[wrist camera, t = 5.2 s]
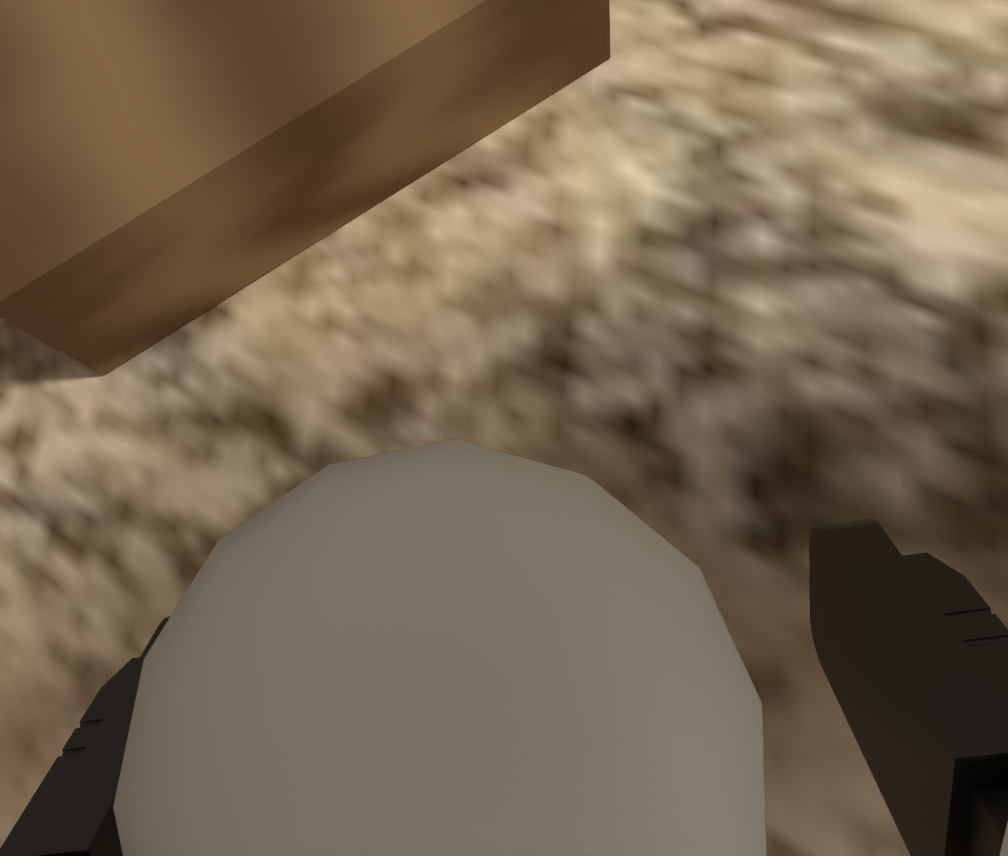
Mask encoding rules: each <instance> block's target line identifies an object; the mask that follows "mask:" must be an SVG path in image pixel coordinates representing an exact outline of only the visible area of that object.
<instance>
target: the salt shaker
mask: <svg viewBox="0 0 1008 856" xmlns="http://www.w3.org/2000/svg"><path fill="white" fill-rule="evenodd" d="M113 809H114V814H115V819H116V824H117V828H118V833H119V838H120V843H121V848H122V853H123V856H766V824H765V790H764V755H763V721H762V702H761V700H760V698H759V696H758V694H757V691H756V689H755V687H754V685H753V683H752V680H751V678H750V676H749V674H748V672H747V670H746V667H745V665H744V663H743V661H742V659H741V657H740V654H739V652H738V650H737V648H736V646H735V643H734V641H733V639H732V637H731V635H730V633H729V630H728V628H727V626H726V624H725V622H724V620H723V617H722V615H721V613H720V611H719V609H718V606H717V604H716V602H715V600H714V598H713V596H712V593H711V591H710V589H709V587H708V585H707V583H706V580H705V578H704V576H703V574H702V572H701V569H700V568H699V567H698V566H697V565H696V564H694V563H693V562H692V561H691V560H690V559H688V558H687V557H686V556H685V555H683V554H682V553H681V552H680V551H679V550H677V549H676V548H675V547H674V546H673V545H671V544H670V543H669V542H668V541H666V540H665V539H664V538H663V537H662V536H660V535H659V534H658V533H657V532H656V531H654V530H653V529H652V528H651V527H649V526H648V525H647V524H646V523H645V522H643V521H642V520H641V519H640V518H639V517H637V516H636V515H635V514H634V513H632V512H631V511H630V510H629V509H628V508H626V507H625V506H624V505H623V504H622V503H620V502H619V501H618V500H617V499H615V498H614V497H613V496H612V495H611V494H609V493H608V492H607V491H606V490H605V489H603V488H602V487H601V486H600V485H598V484H597V483H596V482H595V481H593V480H592V479H590V478H588V477H587V476H585V475H584V474H580V473H576V472H573V471H569V470H566V469H562V468H558V467H555V466H551V465H548V464H544V463H540V462H537V461H533V460H529V459H526V458H522V457H519V456H515V455H511V454H508V453H504V452H501V451H497V450H493V449H490V448H486V447H482V446H479V445H475V444H472V443H468V442H464V441H461V440H457V439H454V440H449V441H444V442H439V443H434V444H429V445H424V446H419V447H414V448H409V449H404V450H399V451H394V452H389V453H384V454H379V455H374V456H369V457H364V458H359V459H354V460H349V461H344V462H339V463H334V464H329V465H328V466H326V467H325V468H323V469H322V470H320V471H319V472H317V473H316V474H314V475H313V476H311V477H310V478H308V479H307V480H305V481H304V482H302V483H301V484H300V485H298V486H297V487H295V488H294V489H292V490H291V491H289V492H288V493H286V494H285V495H283V496H282V497H280V498H279V499H277V500H276V501H274V502H273V503H271V504H270V505H269V506H267V507H266V508H264V509H263V510H261V511H260V512H258V513H257V514H255V515H254V516H252V517H251V518H249V519H248V520H246V521H245V522H243V523H242V524H241V525H239V526H238V527H236V528H235V529H233V530H232V531H230V532H229V533H227V534H226V535H224V536H223V537H221V538H220V539H219V540H218V542H217V543H216V545H215V546H214V548H213V550H212V551H211V553H210V554H209V556H208V558H207V559H206V561H205V562H204V564H203V566H202V567H201V569H200V570H199V572H198V573H197V575H196V577H195V578H194V580H193V581H192V583H191V585H190V586H189V588H188V589H187V591H186V593H185V594H184V596H183V597H182V599H181V601H180V602H179V604H178V605H177V607H176V609H175V610H174V612H173V613H172V615H171V616H170V618H169V620H168V621H167V623H166V624H165V626H164V628H163V629H162V631H161V632H160V634H159V636H158V637H157V639H156V640H155V642H154V644H153V645H152V647H151V648H150V650H149V651H148V653H147V655H146V656H145V658H144V661H143V666H142V671H141V675H140V680H139V685H138V690H137V695H136V700H135V704H134V709H133V714H132V719H131V724H130V728H129V733H128V738H127V743H126V748H125V753H124V757H123V762H122V767H121V772H120V777H119V782H118V786H117V791H116V796H115V801H114V806H113Z"/></svg>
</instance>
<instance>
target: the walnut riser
mask: <svg viewBox="0 0 1008 856" xmlns="http://www.w3.org/2000/svg"><path fill="white" fill-rule="evenodd" d="M609 58H610V17H609V0H0V317H1V318H3V319H4V320H6V321H8V322H10V323H11V324H13V325H15V326H17V327H19V328H20V329H22V330H24V331H26V332H28V333H29V334H31V335H33V336H35V337H37V338H38V339H40V340H42V341H44V342H46V343H47V344H49V345H51V346H53V347H55V348H56V349H58V350H60V351H62V352H64V353H65V354H67V355H69V356H71V357H72V358H74V359H76V360H78V361H80V362H81V363H83V364H85V365H87V366H89V367H90V368H92V369H94V370H96V371H98V372H99V373H101V374H103V375H105V374H107V373H109V372H110V371H112V370H113V369H115V368H116V367H118V366H120V365H121V364H123V363H124V362H126V361H128V360H129V359H131V358H132V357H134V356H136V355H137V354H139V353H140V352H142V351H144V350H145V349H147V348H148V347H150V346H152V345H153V344H155V343H156V342H158V341H160V340H161V339H163V338H164V337H166V336H168V335H169V334H171V333H172V332H174V331H175V330H177V329H179V328H180V327H182V326H183V325H185V324H187V323H188V322H190V321H191V320H193V319H195V318H196V317H198V316H199V315H201V314H203V313H204V312H206V311H207V310H209V309H211V308H212V307H214V306H215V305H217V304H219V303H220V302H222V301H223V300H225V299H227V298H228V297H230V296H231V295H233V294H234V293H236V292H238V291H239V290H241V289H242V288H244V287H246V286H247V285H249V284H250V283H252V282H254V281H255V280H257V279H258V278H260V277H262V276H263V275H265V274H266V273H268V272H270V271H271V270H273V269H274V268H276V267H278V266H279V265H281V264H282V263H284V262H285V261H287V260H289V259H290V258H292V257H293V256H295V255H297V254H298V253H300V252H301V251H303V250H305V249H306V248H308V247H309V246H311V245H313V244H314V243H316V242H317V241H319V240H321V239H322V238H324V237H325V236H327V235H329V234H330V233H332V232H333V231H335V230H337V229H338V228H340V227H341V226H343V225H344V224H346V223H348V222H349V221H351V220H352V219H354V218H356V217H357V216H359V215H360V214H362V213H364V212H365V211H367V210H368V209H370V208H372V207H373V206H375V205H376V204H378V203H380V202H381V201H383V200H384V199H386V198H388V197H389V196H391V195H392V194H394V193H396V192H397V191H399V190H400V189H402V188H403V187H405V186H407V185H408V184H410V183H411V182H413V181H415V180H416V179H418V178H419V177H421V176H423V175H424V174H426V173H427V172H429V171H431V170H432V169H434V168H435V167H437V166H439V165H440V164H442V163H443V162H445V161H447V160H448V159H450V158H451V157H453V156H455V155H456V154H458V153H459V152H461V151H462V150H464V149H466V148H467V147H469V146H470V145H472V144H474V143H475V142H477V141H478V140H480V139H482V138H483V137H485V136H486V135H488V134H490V133H491V132H493V131H494V130H496V129H498V128H499V127H501V126H502V125H504V124H506V123H507V122H509V121H510V120H512V119H514V118H515V117H517V116H518V115H520V114H521V113H523V112H525V111H526V110H528V109H529V108H531V107H533V106H534V105H536V104H537V103H539V102H541V101H542V100H544V99H545V98H547V97H549V96H550V95H552V94H553V93H555V92H557V91H558V90H560V89H561V88H563V87H565V86H566V85H568V84H569V83H571V82H573V81H574V80H576V79H577V78H579V77H580V76H582V75H584V74H585V73H587V72H588V71H590V70H592V69H593V68H595V67H596V66H598V65H600V64H601V63H603V62H604V61H606V60H608V59H609Z"/></svg>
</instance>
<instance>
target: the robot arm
mask: <svg viewBox="0 0 1008 856" xmlns="http://www.w3.org/2000/svg"><path fill="white" fill-rule="evenodd" d="M809 559H810V622H811V630H812V635H813V640H814V644H815V648H816V652H817V655H818V658H819V661H820V663H821V666H822V668H823V670H824V672H825V674H826V676H827V679H828V681H829V683H830V685H831V687H832V689H833V691H834V694H835V696H836V698H837V700H838V702H839V704H840V706H841V708H842V711H843V713H844V715H845V717H846V719H847V721H848V723H849V725H850V728H851V730H852V732H853V734H854V736H855V738H856V740H857V743H858V745H859V747H860V749H861V751H862V753H863V755H864V757H865V760H866V762H867V764H868V766H869V768H870V770H871V772H872V774H873V777H874V779H875V781H876V783H877V785H878V787H879V789H880V792H881V794H882V796H883V798H884V800H885V802H886V804H887V806H888V809H889V811H890V813H891V815H892V817H893V819H894V821H895V823H896V826H897V828H898V830H899V832H900V834H901V836H902V838H903V841H904V843H905V845H906V847H907V849H908V851H909V853H910V855H911V856H1008V629H1007V628H1006V627H1005V626H1004V624H1003V623H1002V622H1001V621H1000V619H999V618H998V617H997V616H996V614H993V615H992V613H991V611H990V607H989V606H988V605H987V603H986V602H985V601H984V600H983V598H982V597H981V596H980V595H979V593H978V592H977V591H976V590H975V588H974V587H973V586H972V585H971V583H970V582H969V581H968V580H967V578H966V577H965V576H963V575H962V574H960V573H958V572H957V571H955V570H954V569H952V568H950V567H949V566H947V565H946V564H944V563H942V562H941V561H939V560H938V559H936V558H934V557H933V556H931V555H930V554H928V553H919V554H912V555H904V556H902V555H901V554H900V552H899V551H898V549H897V548H896V547H895V545H894V544H893V542H892V541H891V540H890V538H889V537H888V535H887V534H886V533H885V531H884V530H883V528H882V527H881V526H880V525H879V523H878V522H877V521H875V520H873V519H868V520H861V521H854V522H847V523H840V524H833V525H826V526H819V527H813V528H812V530H811V532H810V538H809ZM169 618H170V616H169V617H167V618H165V619H164V620H163V621H162V622H161V623H160V625H159V626H158V628H157V630H156V631H155V633H154V635H153V636H152V638H151V640H150V641H149V643H148V645H147V647H146V648H145V650H144V652H143V653H142V655H141V657H139V658H132V659H131V660H130V661H129V662H128V663H127V664H126V665H125V666H124V667H123V668H122V669H121V670H120V671H119V672H118V673H117V674H115V675H114V676H113V677H112V678H111V679H110V680H109V681H108V682H107V683H106V684H105V685H104V686H103V687H102V688H101V689H100V690H99V692H98V694H97V695H96V697H95V698H94V700H93V702H92V703H91V705H90V706H89V708H88V710H87V711H86V713H85V714H84V716H83V718H82V719H81V721H80V728H76V729H75V730H74V732H73V733H72V735H71V737H70V738H69V740H68V741H67V743H66V745H65V746H64V748H63V749H62V750H63V755H62V756H60V757H57V759H56V761H55V762H54V764H53V765H52V767H51V769H50V770H49V772H48V773H47V775H46V777H45V778H44V780H43V781H42V783H41V785H40V786H39V788H38V789H37V791H36V792H35V794H34V796H33V797H32V799H31V800H30V802H29V804H28V805H27V807H26V808H25V810H24V812H23V813H22V815H21V816H20V818H19V820H18V821H17V823H16V824H15V826H14V828H13V829H12V831H11V832H10V834H9V836H8V837H7V839H6V840H5V842H4V844H3V845H2V847H1V848H0V856H123V853H122V848H121V843H120V838H119V833H118V828H117V824H116V819H115V814H114V809H113V806H114V801H115V796H116V791H117V786H118V782H119V777H120V772H121V767H122V762H123V757H124V753H125V748H126V743H127V738H128V733H129V728H130V724H131V719H132V714H133V709H134V704H135V700H136V695H137V690H138V685H139V680H140V675H141V671H142V666H143V661H144V658H145V656H146V655H147V653H148V651H149V650H150V648H151V647H152V645H153V644H154V642H155V640H156V639H157V637H158V636H159V634H160V632H161V631H162V629H163V628H164V626H165V624H166V623H167V621H168V620H169Z"/></svg>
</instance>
